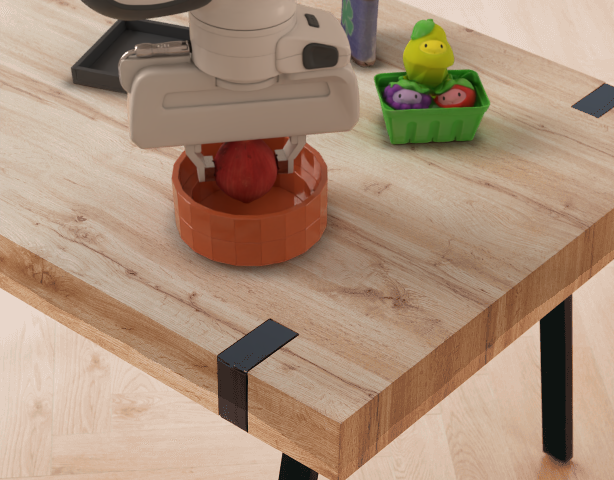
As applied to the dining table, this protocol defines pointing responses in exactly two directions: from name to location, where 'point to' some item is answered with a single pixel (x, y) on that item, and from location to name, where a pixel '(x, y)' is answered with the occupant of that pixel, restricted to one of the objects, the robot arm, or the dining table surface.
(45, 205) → the dining table surface
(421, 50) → the fruit basket
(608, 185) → the dining table surface
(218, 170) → the onion
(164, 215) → the dining table surface
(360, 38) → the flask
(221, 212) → the bowl
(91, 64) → the tray
